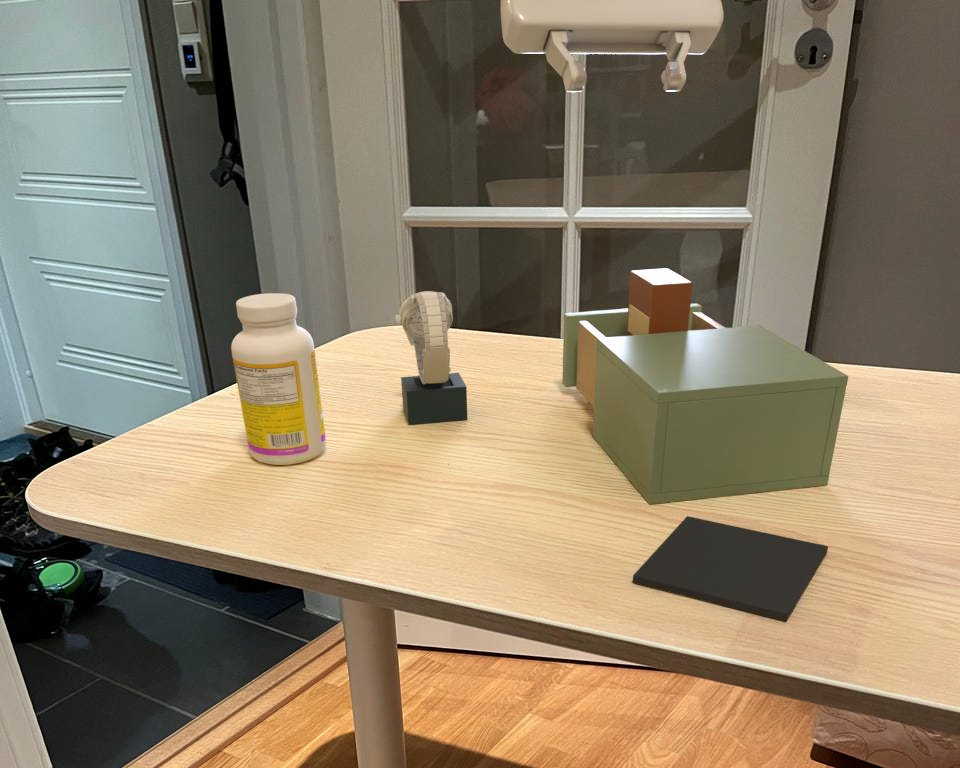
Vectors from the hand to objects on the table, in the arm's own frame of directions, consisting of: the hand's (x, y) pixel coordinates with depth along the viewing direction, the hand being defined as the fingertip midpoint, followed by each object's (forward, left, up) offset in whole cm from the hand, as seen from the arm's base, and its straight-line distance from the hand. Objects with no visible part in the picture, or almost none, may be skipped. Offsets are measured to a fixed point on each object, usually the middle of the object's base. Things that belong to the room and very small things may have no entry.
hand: (626, 86), depth 83 cm
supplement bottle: (+16, +32, -26) cm, 44 cm away
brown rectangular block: (-8, +8, -24) cm, 26 cm away
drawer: (-6, +6, -25) cm, 26 cm away
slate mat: (-24, +34, -26) cm, 49 cm away
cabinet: (-16, +17, -26) cm, 35 cm away
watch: (+10, +18, -26) cm, 33 cm away
